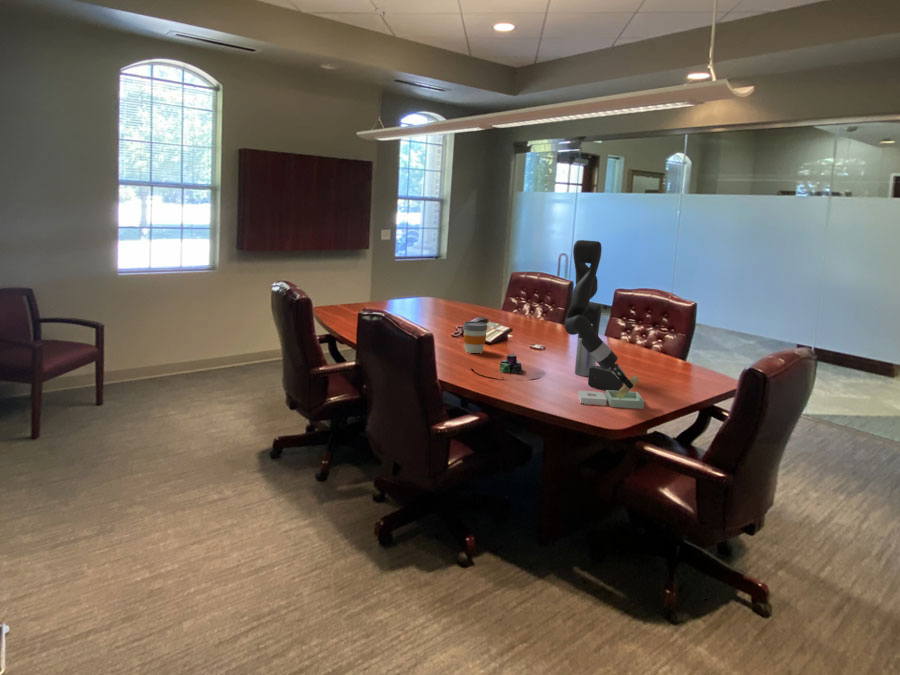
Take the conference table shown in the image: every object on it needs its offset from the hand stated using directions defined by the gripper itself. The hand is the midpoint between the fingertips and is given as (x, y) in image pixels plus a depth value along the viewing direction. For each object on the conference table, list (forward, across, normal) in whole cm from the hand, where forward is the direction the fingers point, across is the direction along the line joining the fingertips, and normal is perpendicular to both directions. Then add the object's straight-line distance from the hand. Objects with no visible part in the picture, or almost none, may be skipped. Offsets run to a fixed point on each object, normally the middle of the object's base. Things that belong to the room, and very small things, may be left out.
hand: (630, 386), depth 261 cm
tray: (+4, 0, +6) cm, 7 cm away
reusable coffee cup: (-41, +74, +51) cm, 99 cm away
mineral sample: (-28, +40, +40) cm, 63 cm away
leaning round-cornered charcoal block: (0, +17, +10) cm, 20 cm away
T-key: (0, 0, +7) cm, 7 cm away
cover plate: (-6, 0, +16) cm, 17 cm away
